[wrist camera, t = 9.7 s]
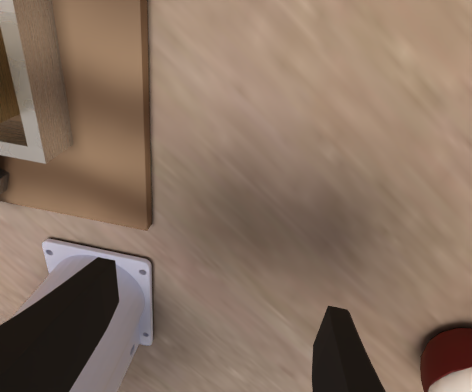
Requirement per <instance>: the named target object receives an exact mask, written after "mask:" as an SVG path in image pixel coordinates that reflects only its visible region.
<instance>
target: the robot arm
mask: <svg viewBox="0 0 472 392" xmlns="http://www.w3.org/2000/svg"><path fill="white" fill-rule="evenodd" d="M42 247H43V251H44V256H45V260H46V264H47V268H48V272H49V275H48V276H47V277H46V279H45V280H44V281H43V282H42V283H41V284H40V285H39V287H38V288H37V289H36V290H35V291H34V292H33V294H32V295H31V296H30V297H29V298H28V299H27V300H26V302H25V303H24V304H23V305H22V306H21V307H20V308H19V310H18V311H17V312H16V313H15V314H14V315H13V316H12V318H11V319H10V320H8V321H7V322H5V323H3V324H2V325H0V392H117V391H118V389H119V387H120V385H121V383H122V380H123V378H124V376H125V374H126V372H127V369H128V367H129V365H130V363H131V361H132V359H133V356H134V354H135V352H136V350H137V348H138V346H139V344H142V345H146V346H149V345H151V344H152V342H153V310H152V269H151V263H150V261H149V260H147V259H144V258H140V257H135V256H130V255H125V254H121V253H116V252H111V251H106V250H102V249H97V248H92V247H87V246H83V245H78V244H73V243H68V242H63V241H59V240H54V239H45V240H44V241H43V243H42ZM144 270H145V271H144ZM312 387H313V392H385V390H384V388H383V386H382V384H381V382H380V380H379V378H378V376H377V374H376V372H375V370H374V368H373V366H372V364H371V362H370V359H369V357H368V355H367V353H366V351H365V348H364V346H363V344H362V342H361V339H360V337H359V335H358V332H357V330H356V328H355V325H354V323H353V320H352V318H351V315H350V313H349V311H348V310H346V309H342V308H337V307H332V306H328V308H327V310H326V313H325V316H324V318H323V321H322V323H321V326H320V329H319V331H318V334H317V337H316V339H315V342H314V344H313V363H312Z"/></svg>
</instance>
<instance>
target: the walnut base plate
mask: <svg viewBox="0 0 472 392" xmlns="http://www.w3.org/2000/svg"><path fill="white" fill-rule="evenodd" d="M52 4H53V11H54V18H55V24H56V31H57V38H58V44H59V51H60V58H61V64H62V71H63V78H64V84H65V91H66V98H67V104H68V111H69V118H70V124H71V131H72V138H73V145H72V146H70V147H69V148H67V149H66V150H65V151H63V152H62V153H60V154H59V155H57V156H56V157H55V158H53V159H52V160H50V161H49V162H48V163H46V164H44V163H39V162H34V161H29V160H23V159H18V158H13V157H8V156H2V155H0V169H2V170H4V171H6V172H9V181H8V189H7V190H6V191H5V192H3V193H2V194H0V201H3V202H7V203H12V204H17V205H22V206H27V207H32V208H37V209H42V210H47V211H52V212H57V213H62V214H67V215H72V216H77V217H81V218H86V219H91V220H96V221H101V222H106V223H111V224H116V225H121V226H126V227H131V228H136V229H141V230H146V231H147V230H148V229H149V227H150V226H151V224H152V205H151V159H150V112H149V65H148V19H147V0H52ZM9 120H14V121H20V122H22V119H21V115H20V114H19V115H17V116H15V117H12V118H10V119H9Z"/></svg>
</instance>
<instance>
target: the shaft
mask: <svg viewBox="0 0 472 392" xmlns="http://www.w3.org/2000/svg"><path fill="white" fill-rule="evenodd" d="M8 181H9V172H6V171H4V170H2V169H0V194H2V193H3V192H5V191H6V190H7V189H8Z"/></svg>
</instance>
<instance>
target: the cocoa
mask: <svg viewBox="0 0 472 392" xmlns="http://www.w3.org/2000/svg"><path fill="white" fill-rule="evenodd" d="M420 370H421V381H422V385H423V389H424V392H472V328H456V329H452V330H449V331H445V332H441V333H440V334H438V335H437V336H435V337H434V338H432V339H431V340H430V341H429V342H428V344H427V346H426V348H425V350H424V352H423V354H422V355H421V364H420Z"/></svg>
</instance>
